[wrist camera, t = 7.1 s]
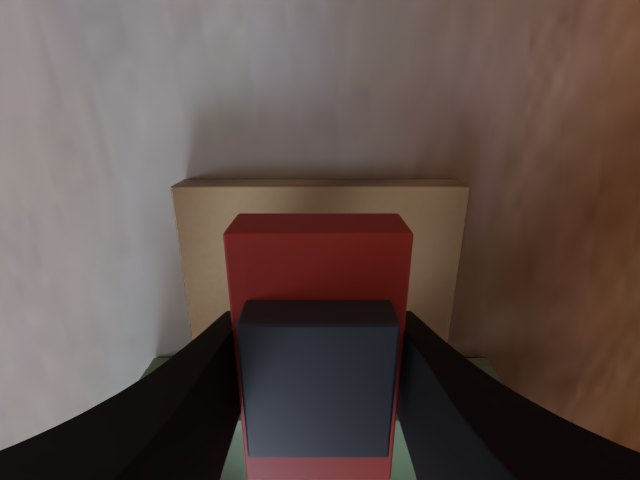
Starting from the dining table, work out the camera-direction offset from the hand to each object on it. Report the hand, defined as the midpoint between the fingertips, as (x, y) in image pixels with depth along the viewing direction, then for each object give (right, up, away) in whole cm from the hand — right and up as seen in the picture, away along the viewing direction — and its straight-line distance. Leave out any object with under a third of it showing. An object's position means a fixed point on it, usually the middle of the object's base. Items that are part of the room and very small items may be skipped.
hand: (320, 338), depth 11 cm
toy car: (0, 0, +1) cm, 1 cm away
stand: (0, +2, +5) cm, 5 cm away
